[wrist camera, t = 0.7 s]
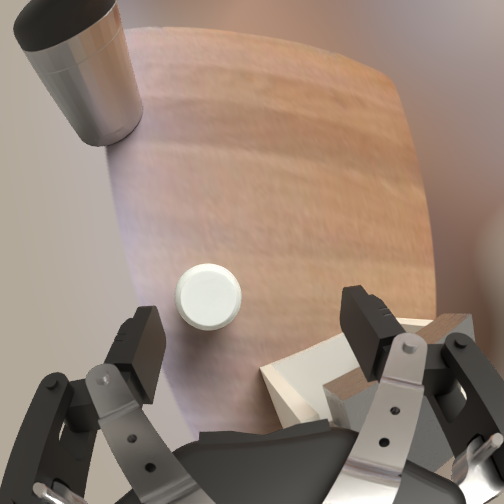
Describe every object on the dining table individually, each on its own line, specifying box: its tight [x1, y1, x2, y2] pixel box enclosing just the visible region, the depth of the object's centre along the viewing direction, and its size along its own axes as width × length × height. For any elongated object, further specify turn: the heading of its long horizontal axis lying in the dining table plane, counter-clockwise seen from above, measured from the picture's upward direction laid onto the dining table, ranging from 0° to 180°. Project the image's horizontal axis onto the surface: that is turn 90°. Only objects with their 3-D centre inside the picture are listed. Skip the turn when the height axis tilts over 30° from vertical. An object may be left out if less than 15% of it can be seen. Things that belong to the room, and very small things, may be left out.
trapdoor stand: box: [260, 318, 466, 458], centre depth 22 cm, size 18×15×14 cm
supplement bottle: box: [175, 264, 242, 330], centre depth 24 cm, size 5×5×10 cm
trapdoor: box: [322, 314, 475, 472], centre depth 15 cm, size 16×12×4 cm
